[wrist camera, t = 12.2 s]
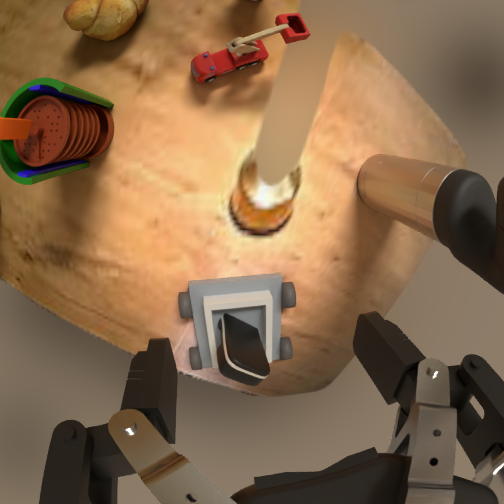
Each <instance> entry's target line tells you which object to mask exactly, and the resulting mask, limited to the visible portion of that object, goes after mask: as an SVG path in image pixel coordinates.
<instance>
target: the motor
mask: <svg viewBox="0 0 504 504" xmlns="http://www.w3.org/2000/svg"><path fill="white" fill-rule="evenodd" d="M95 103H97V104H100V105H103V106H106V107H109V108H111V107H112V106H113V105H114V104H113V103H112V102H110V101H109V100H107V99H104V98H102V97H99V96H97V95H94V94H92V93H89V92H87V91H84V90H82V89H79V88H77V87H74V86H71V85H69V84H66V83H63V82H61V81H58V80H55V79H52V78H38V79H35V80H32V81H30V82H28V83H26V84H25V85H23V86H22V87H20V88H19V89H18V90H17V91H16V92H15V93H14V94H13V95H12V97H11V98H10V99H9V101H8V102H7V104H6V106H5V108H4V109H3V112H2V114H1V117H0V164H1V166H2V168H3V170H4V171H5V173H6V174H7V175H8V176H9V177H10V178H11V179H13V180H14V181H16V182H18V183H21V184H25V185H32V184H35V183H38V182H41V181H44V180H47V179H50V178H53V177H56V176H59V175H63V174H66V173H69V172H73V171H76V170H80V169H83V168H87V167H89V162H85V161H86V160H83V159H89V158H93V157H96V156H98V155H100V154H101V153H103V152H104V151H105V150H106V149H107V147H108V146H109V144H110V143H111V140H112V138H113V134H114V122H113V119H112V117H111V115H110V113H109V112H108V111H107V110H106V109H104V108H103V107H100V106H97V105H95Z"/></svg>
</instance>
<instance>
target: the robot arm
mask: <svg viewBox="0 0 504 504" xmlns="http://www.w3.org/2000/svg"><path fill="white" fill-rule="evenodd" d="M358 190H359V194H360V196H361V198H362V200H363V201H364V203H365V204H366V205H367V206H368V207H370V208H372V209H374V210H376V211H378V212H380V213H382V214H384V215H386V216H388V217H390V218H393V219H395V220H397V221H399V222H401V223H403V224H405V225H407V226H408V227H410V228H412V229H414V230H416V231H418V232H420V233H422V234H424V235H426V236H428V237H430V238H432V239H433V240H436V241H437V242H439V243H441V244H443V245H444V246H446V247H448V248H449V249H450V251H451V253H452V254H453V256H454V257H455V258H456V259H457V260H459V262H461V263H462V264H464V265H465V266H466V267H468V268H469V269H471V270H472V271H474V272H475V273H476V274H478V275H479V276H480V277H481V278H483V279H484V280H485V281H487V282H488V283H489V284H490V285H492V286H493V287H494V288H495V289H497V290H498V291H499V292H501V293H502V294H504V177H503V178H502V179H501V181H500V182H499V185H498V191H497V204H496V202H495V198H494V195H493V192H492V189H491V187H490V185H489V184H488V182H487V181H486V180H485V179H484V178H483V177H482V176H481V175H479V174H477V173H475V172H472V171H468V170H464V169H459V168H455V167H451V166H446V165H441V164H436V163H431V162H426V161H421V160H415V159H409V158H404V157H398V156H391V155H384V154H378V155H375V156H372V157H370V158H369V159H368V160H367V161H366V162H365V163H364V164H363V166H362V168H361V170H360V173H359V176H358ZM353 349H354V353H355V355H356V356H357V358H358V359H359V361H360V362H361V364H362V365H363V367H364V368H365V370H366V371H367V373H368V375H369V376H370V378H371V379H372V381H373V382H374V384H375V385H376V387H377V388H378V390H379V391H380V393H381V395H382V396H383V398H384V399H385V401H386V403H387V404H388V405H390V404H392V403H395V402H398V403H399V404H400V405H399V407H398V410H397V416H396V420H395V425H394V430H393V435H392V439H391V443H390V446H389V448H388V450H387V452H386V453H377V451H376V449H375V447H373V448H371V449H367V450H365V451H362V452H359V453H356V454H353V455H350V456H347V457H346V458H344V459H342V460H340V461H339V462H337V463H335V464H333V465H332V466H330V467H328V468H326V469H324V470H322V471H318V472H284V473H279V474H273V475H267V476H261V477H254V484H253V485H250V486H248V487H246V488H244V489H242V490H240V491H238V492H237V493H235V494H233V495H232V496H231V497H228V496H227V495H226V494H225V493H223V492H222V491H221V490H220V489H219V488H218V487H217V486H215V485H214V484H213V483H212V482H211V481H210V480H209V479H208V478H206V477H205V476H204V475H203V474H202V473H201V472H200V471H199V470H198V469H197V468H196V467H195V466H194V465H193V464H192V463H191V462H190V461H189V460H188V459H186V458H185V457H184V456H183V455H180V454H178V453H177V452H176V451H175V450H174V449H173V448H172V447H171V446H170V444H175V428H176V399H177V368H176V363H175V360H174V356H173V352H172V348H171V344H170V341H169V338H152V339H150V340H149V344H148V349H147V351H139V352H138V353H137V354H136V356H135V357H134V358H133V359H132V362H131V366H130V372H129V374H128V380H127V382H126V387H125V392H124V396H123V400H122V405H121V409H120V411H119V412H117V413H115V414H114V415H113V416H112V417H111V419H110V420H109V423H106V424H103V425H99V426H94V427H88V428H85V427H84V426H83V425H82V424H81V423H80V422H78V421H76V420H66V421H63V422H61V423H60V424H58V425H57V426H56V428H55V429H54V431H53V434H52V438H51V442H50V446H49V451H48V455H47V460H46V465H45V470H44V475H43V481H42V487H41V493H40V501H39V504H117V483H118V477H120V476H125V475H130V474H134V473H138V475H139V476H140V477H141V480H142V481H143V482H144V484H145V485H146V486H147V487H148V489H150V491H151V492H152V493H153V495H154V496H155V497H156V498H157V499H158V500H159V501H160V503H161V504H503V503H504V381H503V380H502V379H501V378H500V377H499V375H498V374H497V373H496V372H495V371H494V370H493V369H492V367H490V365H489V364H488V363H487V362H486V361H485V360H484V359H483V358H482V357H480V356H478V355H474V354H470V355H466V356H465V357H464V358H463V360H462V362H461V364H460V365H455V366H446V365H445V364H444V363H443V362H442V361H440V360H438V359H434V358H427V359H426V357H425V356H424V355H423V354H422V353H421V352H420V351H419V349H418V348H417V347H416V346H415V345H414V344H413V343H412V342H411V341H410V339H408V337H407V336H406V335H405V334H403V332H402V331H401V330H400V329H399V328H398V326H397V325H395V324H393V323H392V322H390V321H388V320H384V319H383V318H382V316H381V315H380V314H379V313H378V312H376V311H373V312H369V313H364V314H360V315H359V317H358V320H357V325H356V330H355V335H354V339H353ZM473 395H474V396H475V398H476V399H477V401H478V402H479V403H480V405H481V406H482V407H483V409H484V413H485V414H484V418H483V420H482V419H481V417H480V416H479V415H478V413H477V411H476V410H475V409H474V407H473V406H472V405H471V403H470V402H469V401H470V400H471V398H472V397H473ZM456 438H457V439H458V441H459V442H460V444H461V446H462V447H463V449H464V451H465V452H466V454H467V456H468V457H469V459H470V461H471V463H472V464H473V466H474V468H475V470H476V471H475V477H474V478H473V480H472V481H470V480H467V479H464V478H461V477H458V476H455V475H453V472H454V463H455V451H456Z"/></svg>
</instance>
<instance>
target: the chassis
mask: <svg viewBox="0 0 504 504" xmlns="http://www.w3.org/2000/svg"><path fill="white" fill-rule="evenodd" d="M281 305H282V307H283V308H292V307H295V305H296V292H295V287H294V285H293V283H292V282H285V283H282V276H281V274H280V273H273V274H263V275H252V276H242V277H231V278H220V279H208V280H197V281H189V292H179V310H180V316H181V318H182V319H185V318H193V317H194V323H195V329H196V335H197V340H198V346H199V347H190V349H189V353H190V363H191V368H192V370H198V369H202V367H203V368H209V367H213V369H219V367H218V362H217V353H216V351H217V348H218V347H219V345H220V344H221V331H220V330H219V329H218V322H219V320H220V319H221V316H222V315H224V314H225V313H227V314H229V315H232V316H234V317H236V318H238V319H240V320H242V321H244V322H246V323H248V324H250V325H252V326H254V327H255V328H257V329H258V331H259V335H260V339H261V342H262V344H263V347H264V350H265V353H266V356H267V360H268V363H270V362H272V360H278V359H280V357H281V359H282V360H285V359H291V358H292V355H293V351H292V344H291V340H290V338H289V337H283V338H280V335H281Z"/></svg>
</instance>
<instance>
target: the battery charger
mask: <svg viewBox="0 0 504 504" xmlns="http://www.w3.org/2000/svg"><path fill="white" fill-rule="evenodd" d="M218 329H219V330H220V331H221V344H220V345H219V347H218V348H217V351H216V353H217V362H218V367H219V370H220V372H221V374H222V375H224V376H225V377H227V378H230V379H232V380H235V381H238V382H240V383H243V384H246V385H250V386H256V385H258V384H259V383H260V382H261V381H262V380H263V379H265V378H266V377H267V376H268V374H269V372H270V367H269V363H268V360H267V356H266V353H265V350H264V347H263V344H262V342H261V339H260V335H259V331H258V329H257V328H255V327H254V326H252V325H250V324H248V323H246V322H244V321H242V320H240V319H238V318H236V317H234V316H232V315H229V314H227V313H225V314H224V315H222V316H221V319H220V320H219V322H218Z"/></svg>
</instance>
